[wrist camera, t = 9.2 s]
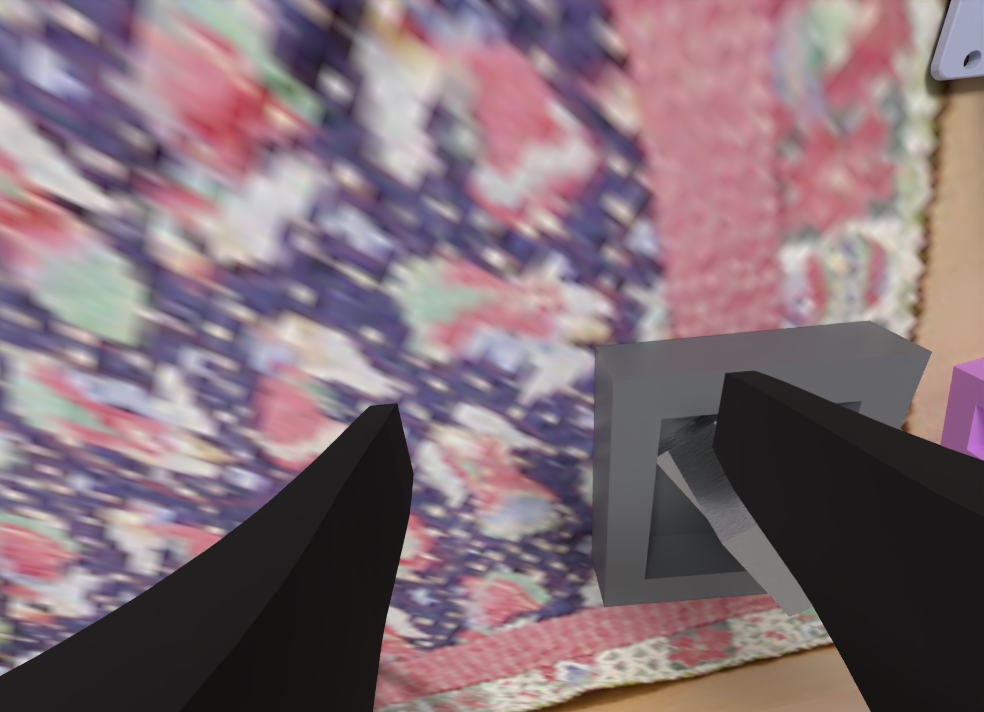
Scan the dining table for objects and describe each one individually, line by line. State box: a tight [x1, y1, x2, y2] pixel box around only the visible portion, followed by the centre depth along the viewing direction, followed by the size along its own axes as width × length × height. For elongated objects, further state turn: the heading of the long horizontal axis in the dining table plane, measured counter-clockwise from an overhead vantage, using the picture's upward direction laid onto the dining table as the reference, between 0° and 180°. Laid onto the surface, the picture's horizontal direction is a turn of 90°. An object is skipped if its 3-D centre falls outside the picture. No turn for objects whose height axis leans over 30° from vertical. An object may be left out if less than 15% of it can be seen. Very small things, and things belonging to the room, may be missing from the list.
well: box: [592, 321, 932, 607], centre depth 21 cm, size 12×14×3 cm
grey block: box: [657, 414, 812, 617], centre depth 19 cm, size 4×6×6 cm, turn 41°
